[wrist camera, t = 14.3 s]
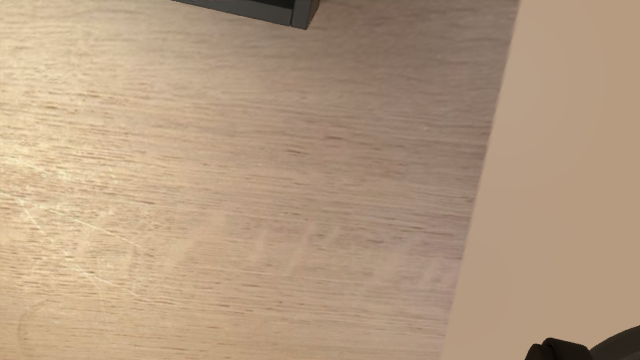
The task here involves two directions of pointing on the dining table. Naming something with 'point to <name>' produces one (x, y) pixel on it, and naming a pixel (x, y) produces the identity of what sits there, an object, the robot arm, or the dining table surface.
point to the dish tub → (265, 10)
